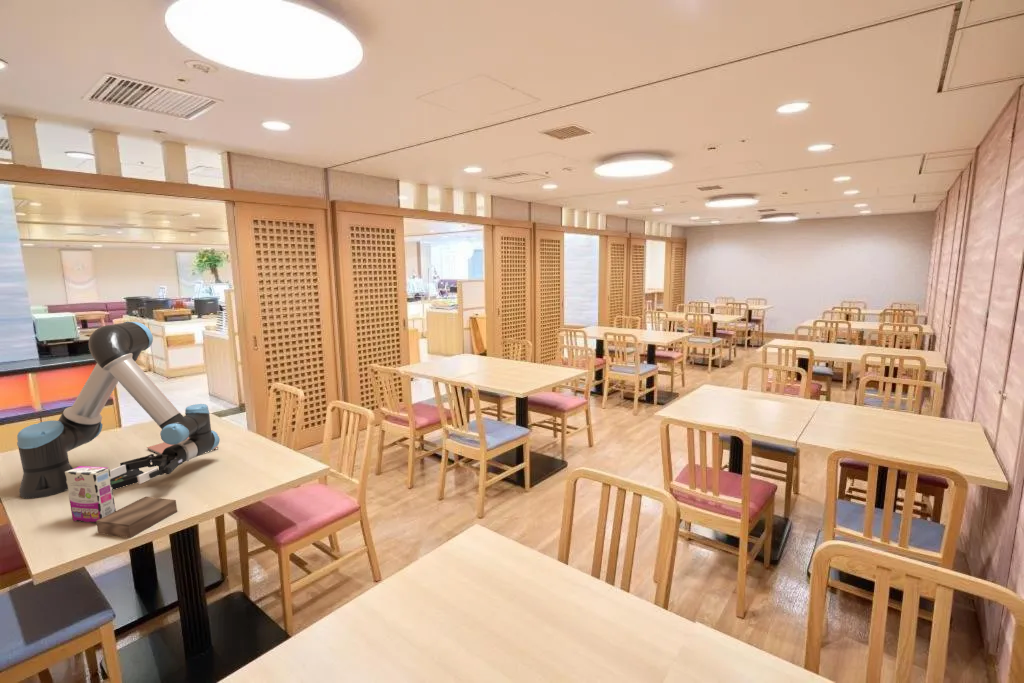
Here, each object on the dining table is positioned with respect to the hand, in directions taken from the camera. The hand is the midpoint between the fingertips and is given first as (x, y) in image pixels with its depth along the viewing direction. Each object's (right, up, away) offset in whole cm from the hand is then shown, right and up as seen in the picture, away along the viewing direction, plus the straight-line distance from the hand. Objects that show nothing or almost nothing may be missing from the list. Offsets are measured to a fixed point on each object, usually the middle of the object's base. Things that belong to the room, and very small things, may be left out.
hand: (121, 478), depth 155 cm
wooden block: (+14, -11, -10) cm, 20 cm away
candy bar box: (-2, -11, -8) cm, 13 cm away
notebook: (-13, -2, +48) cm, 50 cm away
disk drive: (-15, -7, +17) cm, 24 cm away
